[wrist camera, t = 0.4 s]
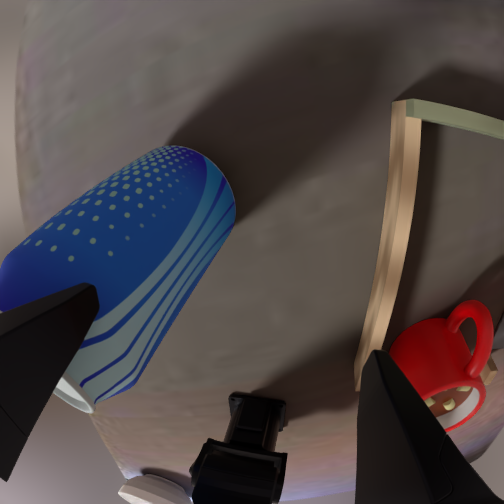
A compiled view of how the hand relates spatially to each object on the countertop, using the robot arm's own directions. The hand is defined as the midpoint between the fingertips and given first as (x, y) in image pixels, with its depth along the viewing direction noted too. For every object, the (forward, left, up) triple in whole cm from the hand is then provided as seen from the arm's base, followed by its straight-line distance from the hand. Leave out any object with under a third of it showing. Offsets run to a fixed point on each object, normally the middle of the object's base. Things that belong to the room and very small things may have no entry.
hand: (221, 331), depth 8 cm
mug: (-12, -15, -15) cm, 24 cm away
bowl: (-71, +26, -15) cm, 77 cm away
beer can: (0, +7, -14) cm, 16 cm away
